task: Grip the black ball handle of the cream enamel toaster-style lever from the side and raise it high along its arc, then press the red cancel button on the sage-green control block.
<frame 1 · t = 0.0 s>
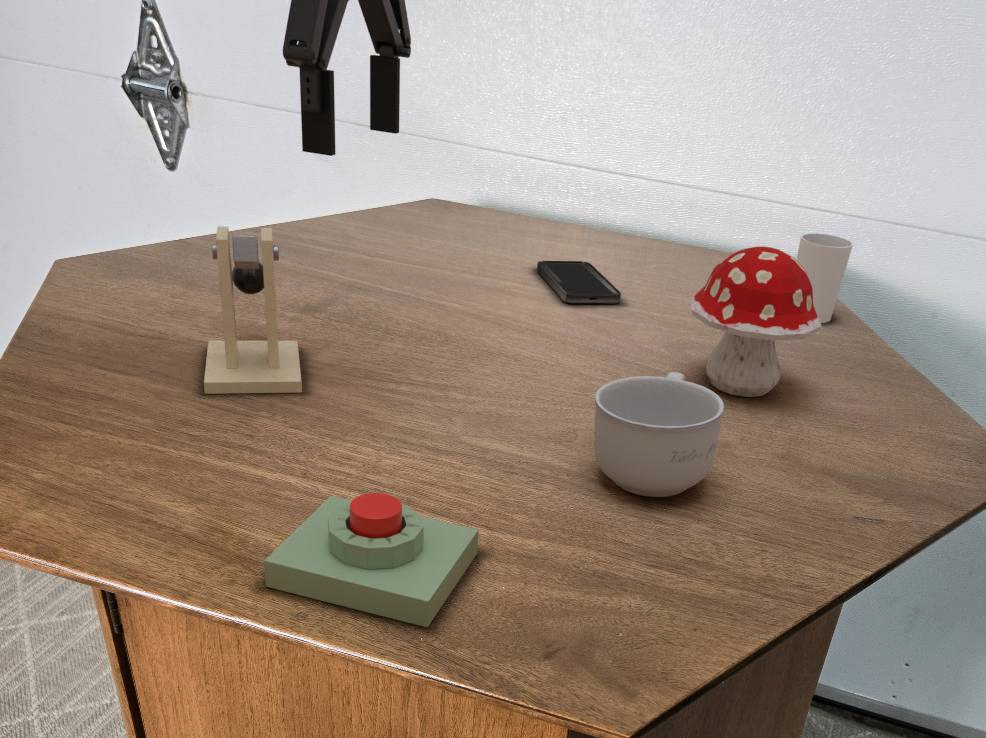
hand: (353, 142, 89), 22 cm above the table, tool pointing down, fingers open, 13 cm apart
bracket: (254, 371, 99), on the table
decorative mushroom: (739, 387, 107), on the table
drinking glass: (808, 317, 131), on the table
cancel button: (375, 516, 68), point 4 cm above the table, slide at 0.1 cm
control block: (375, 569, 71), on the table
lever: (248, 265, 98), point 9 cm above the table, hinge at -30.0°
teacup: (653, 475, 88), on the table
phone: (576, 286, 133), on the table
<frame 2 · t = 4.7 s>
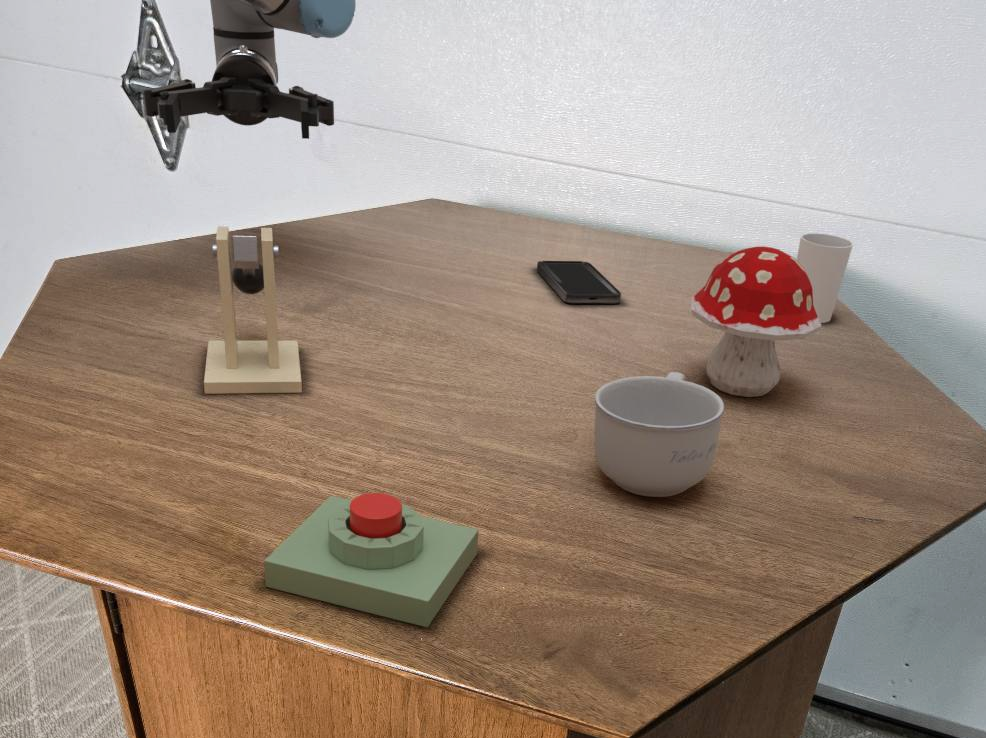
hand: (238, 122, 103), 21 cm above the table, tool horizontal, fingers open, 13 cm apart
nothing on the table moved.
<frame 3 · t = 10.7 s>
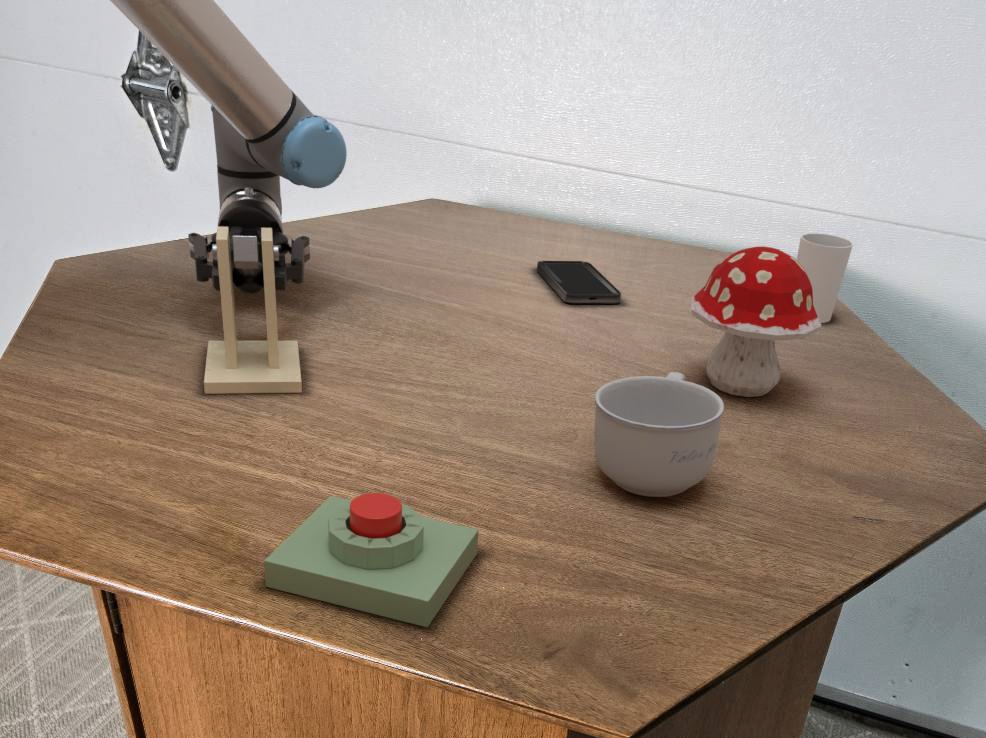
hand: (249, 293, 98), 7 cm above the table, tool horizontal, fingers closed on lever, 4 cm apart
lever: (248, 265, 98), point 9 cm above the table, hinge at -30.0°, touching gripper
everything else where it was.
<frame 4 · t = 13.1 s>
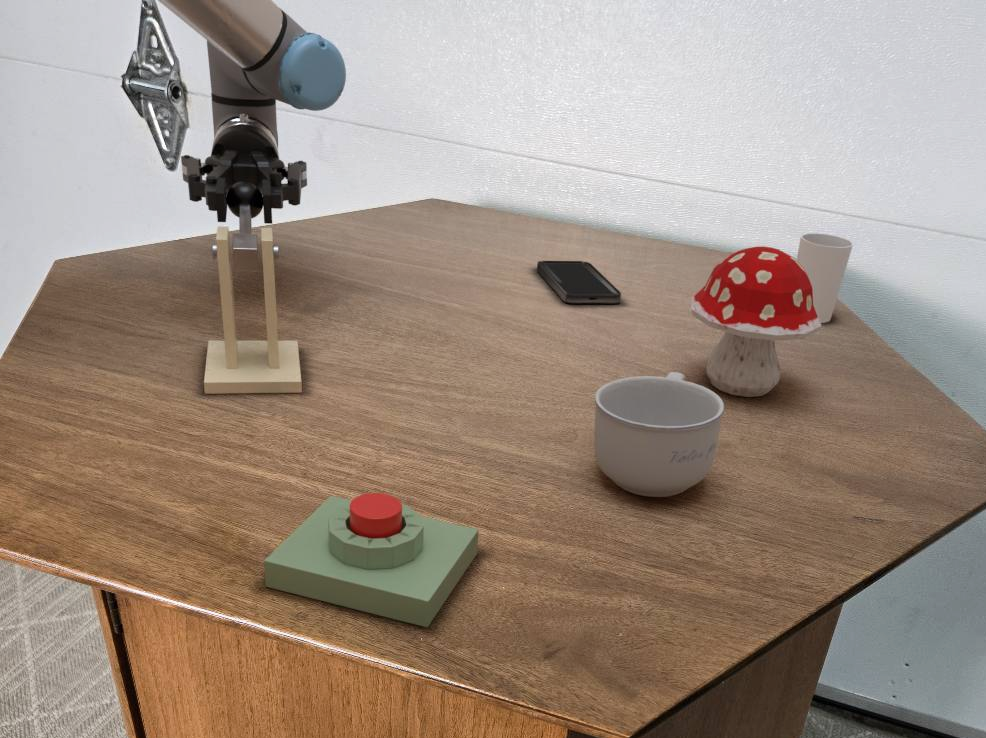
hand: (244, 208, 94), 15 cm above the table, tool horizontal, fingers closed on lever, 4 cm apart
lever: (245, 224, 96), point 13 cm above the table, hinge at 14.4°, touching gripper
everything else where it was.
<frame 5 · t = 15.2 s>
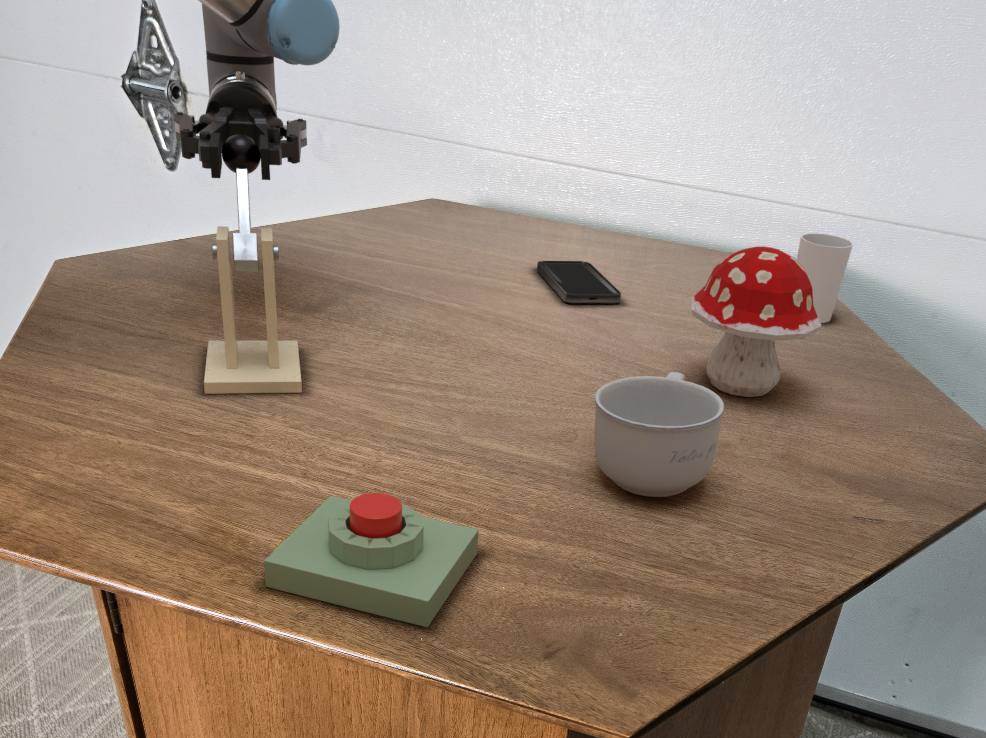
hand: (240, 163, 89), 20 cm above the table, tool horizontal, fingers open, 4 cm apart
lever: (243, 201, 94), point 16 cm above the table, hinge at 48.6°
everything else where it was.
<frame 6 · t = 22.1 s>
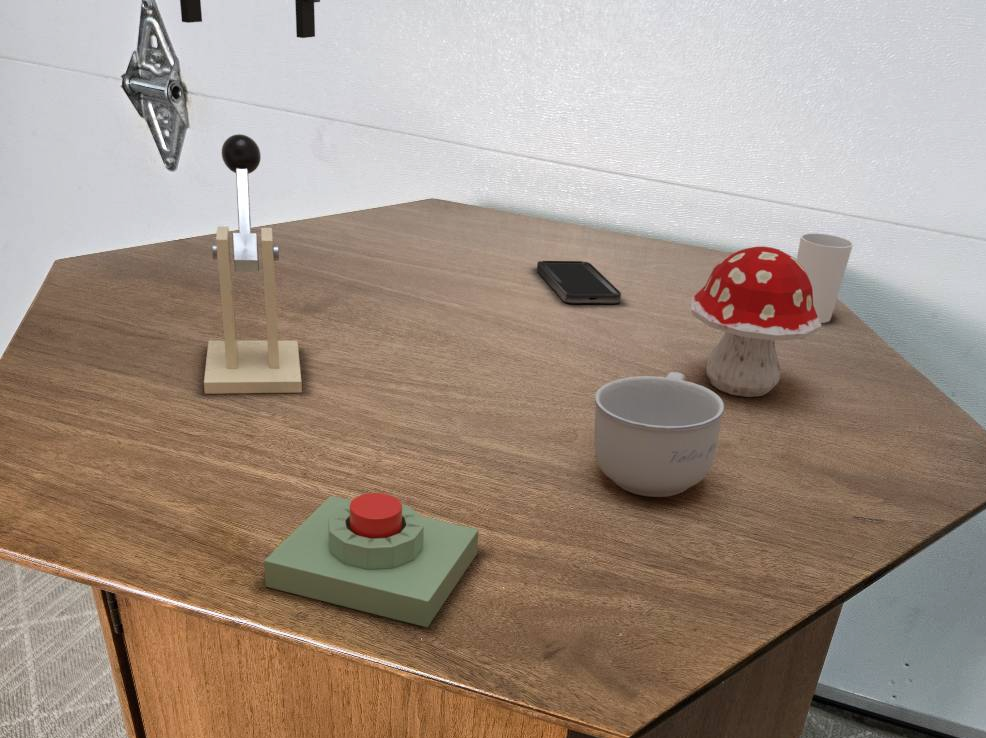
hand: (248, 29, 106), 29 cm above the table, tool pointing down, fingers open, 13 cm apart
nothing on the table moved.
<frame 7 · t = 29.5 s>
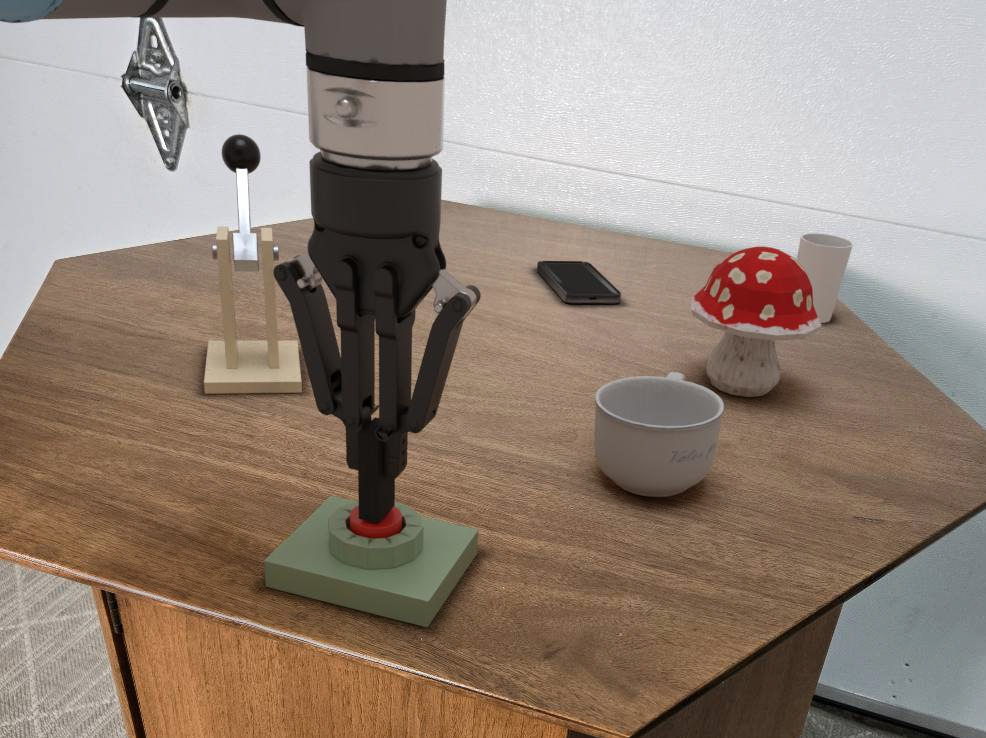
hand: (376, 511, 68), 5 cm above the table, tool pointing down, fingers closed
cancel button: (375, 525, 69), point 4 cm above the table, slide at -0.6 cm, touching gripper
everything else where it was.
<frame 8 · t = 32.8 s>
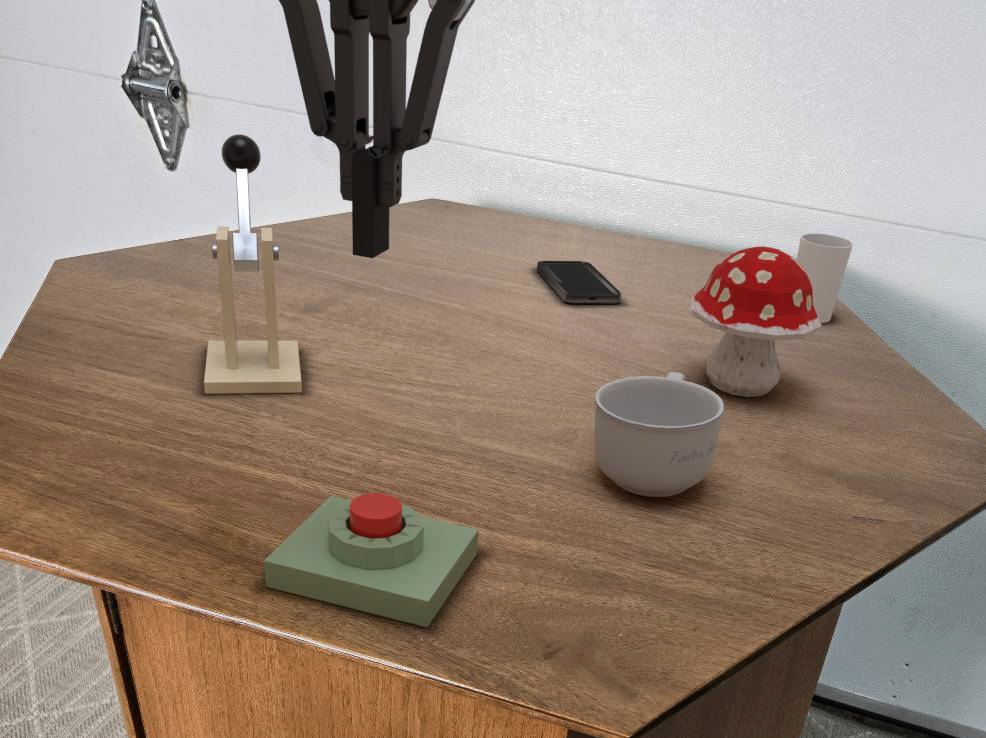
hand: (371, 251, 68), 20 cm above the table, tool pointing down, fingers closed
cancel button: (375, 516, 68), point 4 cm above the table, slide at 0.1 cm
everything else where it was.
at the end: lever at +49° (first picture: -30°); cancel button pushed in 1.0 cm at the most during the clip, back to where it started at the end; cancel button slide at 0.1 cm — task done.
